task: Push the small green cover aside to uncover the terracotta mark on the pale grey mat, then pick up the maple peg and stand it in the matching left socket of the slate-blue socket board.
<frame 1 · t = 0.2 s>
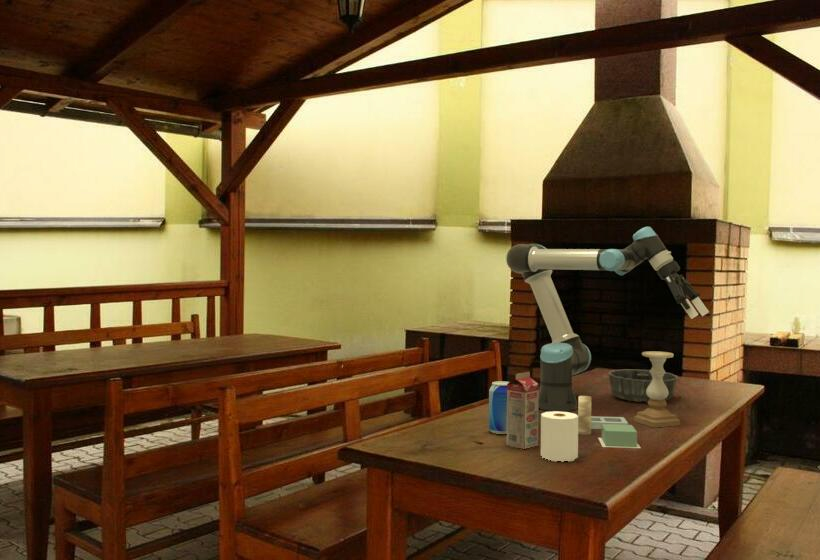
hand: (700, 315, 264), 36 cm above the table, tool tilted 35°, fingers open, 13 cm apart
board: (602, 427, 251), on the table
mat: (618, 444, 229), on the table
candle holder: (656, 423, 256), on the table
beer can: (502, 433, 243), on the table
juice carton: (522, 446, 226), on the table
toilet paper: (559, 457, 214), on the table
bundt pan: (642, 399, 299), on the table
peg: (584, 434, 241), on the table
cover: (618, 442, 229), resting on mat
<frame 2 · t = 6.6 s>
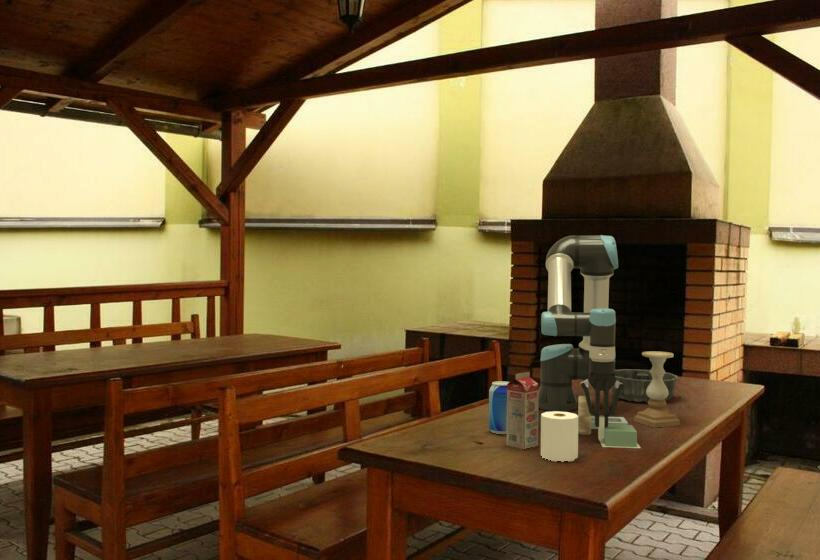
hand: (601, 437, 229), 2 cm above the table, tool pointing down, fingers closed
cover: (618, 442, 229), resting on mat, touching gripper
everything else where it was.
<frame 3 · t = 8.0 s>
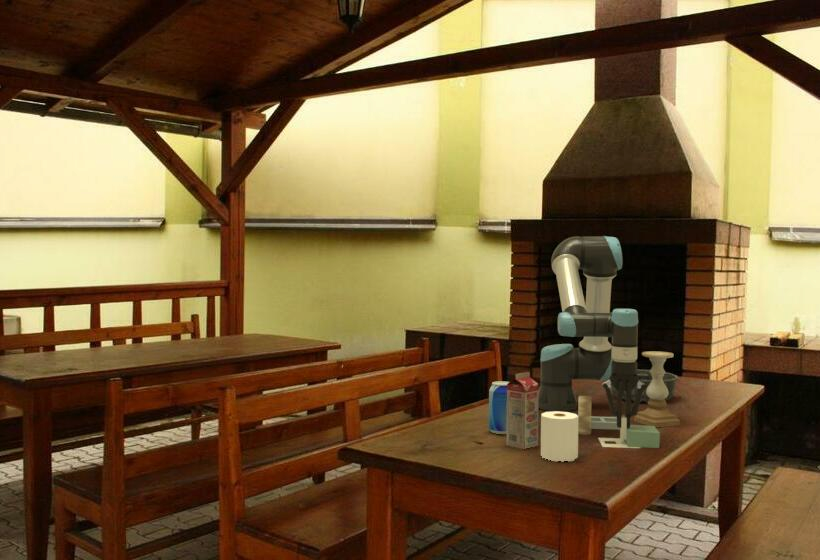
hand: (623, 438, 228), 2 cm above the table, tool pointing down, fingers closed
cover: (640, 443, 228), on the table, touching gripper, mat
everything else where it was.
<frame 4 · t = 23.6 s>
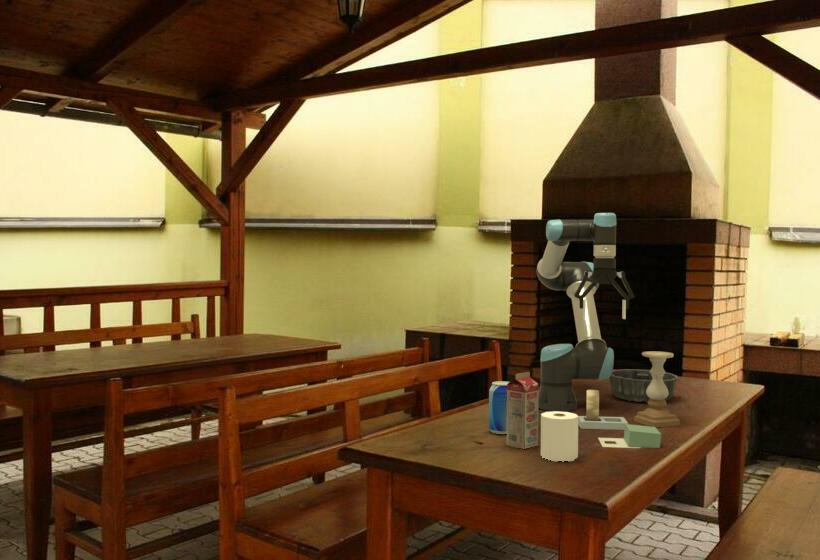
hand: (603, 318, 264), 35 cm above the table, tool pointing down, fingers open, 13 cm apart
peg: (592, 426, 251), resting in board
cover: (641, 443, 228), on the table, touching mat
everything else where it was.
at the end: peg 0.1 cm from the target spot on the board, point 0.0 cm above the board's base; peg tilted 0°; cover moved 6.6 cm from its start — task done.
